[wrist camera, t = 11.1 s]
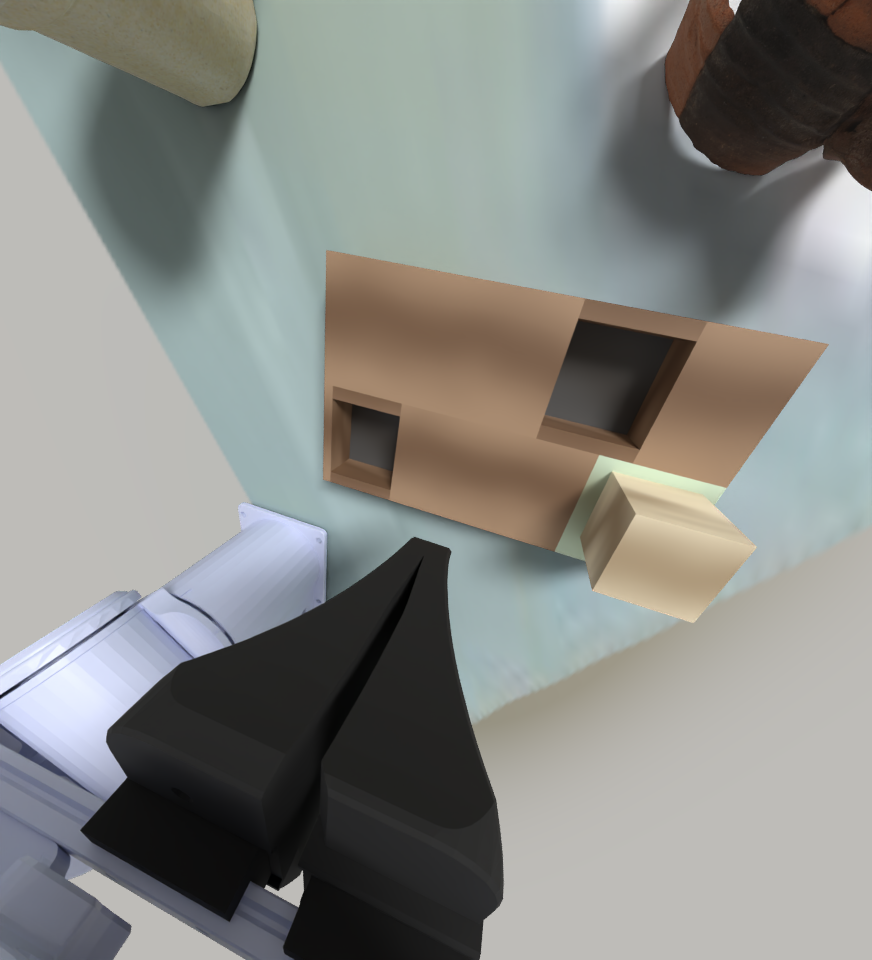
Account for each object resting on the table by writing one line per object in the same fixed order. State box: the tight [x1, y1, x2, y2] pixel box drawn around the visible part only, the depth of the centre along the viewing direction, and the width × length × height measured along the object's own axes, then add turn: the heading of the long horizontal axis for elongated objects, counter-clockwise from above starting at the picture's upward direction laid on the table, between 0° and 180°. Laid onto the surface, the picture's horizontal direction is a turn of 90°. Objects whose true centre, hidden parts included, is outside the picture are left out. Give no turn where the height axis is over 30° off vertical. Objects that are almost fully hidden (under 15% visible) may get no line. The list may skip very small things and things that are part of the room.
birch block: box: [580, 471, 757, 623], centre depth 14 cm, size 4×4×4 cm
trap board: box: [323, 250, 829, 561], centre depth 17 cm, size 12×20×2 cm, turn 79°
